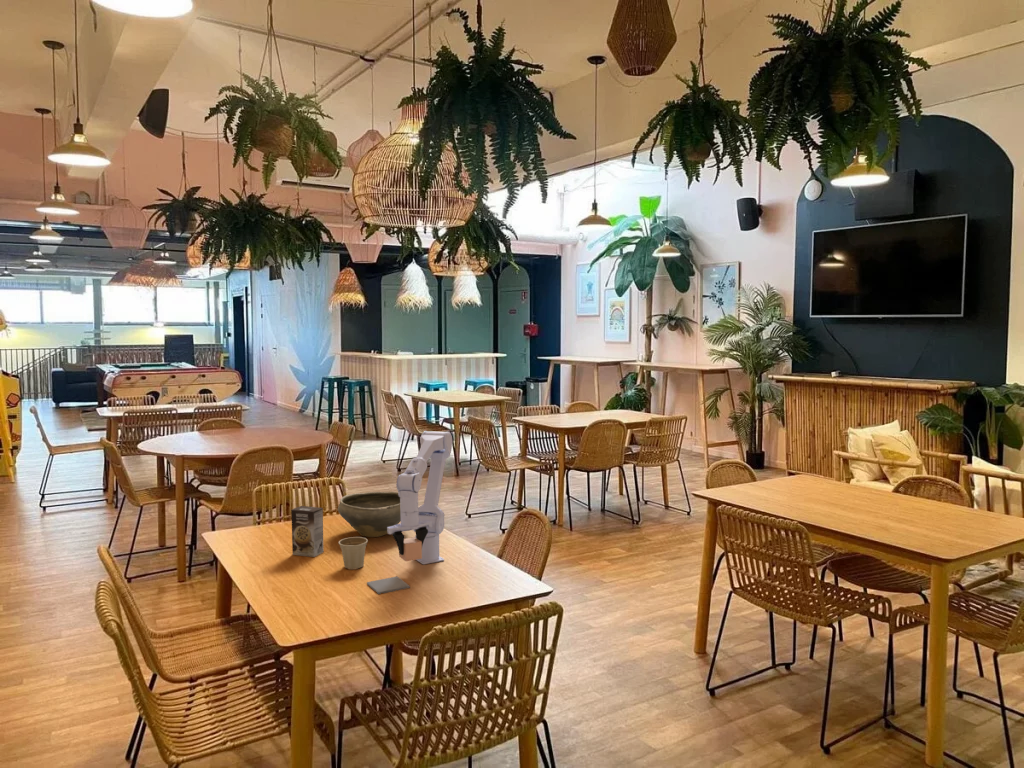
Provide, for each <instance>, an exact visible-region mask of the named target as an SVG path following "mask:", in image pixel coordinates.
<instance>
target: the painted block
mask: <svg viewBox="0 0 1024 768" xmlns="http://www.w3.org/2000/svg"><path fill="white" fill-rule="evenodd" d="M398 556H399V558H400V559H402V560H403V561H404V562H410V561H415V560H416V559H422V542H421V541H420V540H418V539H417V538H415V536H413V537H409V538H408V537H407V538H404V555H401V554H399V553H398ZM416 561H417V560H416Z"/></svg>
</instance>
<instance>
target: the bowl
mask: <svg viewBox="0 0 1024 768" xmlns="http://www.w3.org/2000/svg"><path fill="white" fill-rule="evenodd" d="M337 511H338V514H339V515H340V516H341V518H342V519H343V520H344V521H346V522H347V523H348V524H349V525H350V526H351V527H352V528H353V529H354V530H355V531H356V532H357V533H358V534H360V536H361V537H362V536H363V537H364V538H366V537H368V538H377V537H378V538H379V537H382V536H385V535H389V534H388V533H387V527H390V526H394V525H397V524H400V523H401V517H400V497H399V495H398V491H397V492H396V491H371V492H370V491H369V492H360V493H359V492H358V493H352V494H351V493H350V494H346V495H344V496H342V497H341V498H340V500H339V504H338V507H337Z"/></svg>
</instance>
